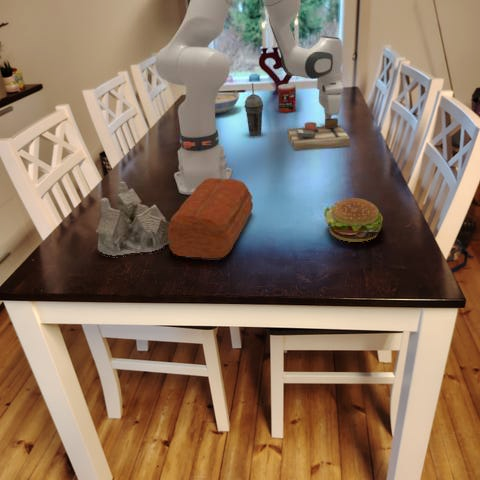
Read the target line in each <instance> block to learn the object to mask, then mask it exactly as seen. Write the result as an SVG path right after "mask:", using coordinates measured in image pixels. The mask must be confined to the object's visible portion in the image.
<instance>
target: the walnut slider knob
mask: <svg viewBox="0 0 480 480" xmlns="http://www.w3.org/2000/svg"><path fill="white" fill-rule="evenodd" d="M338 125H339V119H338V118H337V117H334V118H332V117H331V119H325V118H324V126H325V128H338Z"/></svg>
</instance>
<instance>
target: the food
mask: <svg viewBox="0 0 480 480" xmlns="http://www.w3.org/2000/svg"><path fill="white" fill-rule="evenodd" d="M323 214H324V217H325V223H326V224H327V226H328V227H329V229H328V230H329V233H330V234H331V236H332V237H333V236H334V237H333V238H335V237H336V238H335V239H337V238H338V239H337V240H339V239H340V240H339V241H341V240H343V241H342V242H345V241H348V242H347V243H350V242H362V243H364V242H363V241H367V242H369V241H368V240H370V241H371V239H372V240H373V238H374V239H375V238H376V237H377V236H378V235H379V233H380V232H381V231H382V226H383V225H382V224H383V215H382V213H381V212H380V210H379V209H378V207H377V206H376V205H375V204H374V203H372V202H371V201H370V200H369V201H368V200H366V199H363V198H359V197H358V198H357V197H354V198H353V197H351V198H346V199H342V200H340V201H338V202H336V203H334V204H333V205H332V206H331V207H330V208H329V206H327V208H325V209H324V213H323Z"/></svg>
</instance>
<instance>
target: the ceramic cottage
mask: <svg viewBox="0 0 480 480" xmlns="http://www.w3.org/2000/svg"><path fill="white" fill-rule="evenodd" d="M119 185H120V186H119V187H118V192H119V194H117V198H116V201H115V207H116V209H115V208H112V206H111V203H110V201H109V199H108V198H107V197H102V198H101V199H100V213H101V217H100V220H99V223H98V226H97V229H95V232H96V233H97V234H99V235H98V237H97V238H98V240H97V251H98V250H99V252H102V253H103V254H107V255H112V256H116V255H124V254H130V253H140V252H152V251H155V250H159V249H161V248H163V247H164V246H165V245H167V244H169V237H168V231H167V229H168V228H169V226H170V221H168V220H166V217H165V216H164V215H163V213H162V212H161V211H160V209H159V208H158V207H157V205H156V204H153V205H152V206H150V207H149V206H148V205H145V204H142V200H141V199H140V198H139V196H138V194H137V193H136V192H135V190H134V188H130V189H129V188H128V185H127V184H126V182H125V181H120V182H119ZM164 248H165V247H164ZM164 248H163V249H164ZM99 252H98V253H99Z"/></svg>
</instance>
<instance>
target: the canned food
mask: <svg viewBox="0 0 480 480" xmlns="http://www.w3.org/2000/svg"><path fill="white" fill-rule="evenodd" d="M296 95H297V92H296V85H295V84H293V83H283V84H280V85H278V87H277V98H278V99H277V101H278V104H277V105H278V111H279V113H282V114H290V113H294V112H295V111H296V110H297V109H296V107H297V106H296V102H297V99H296Z"/></svg>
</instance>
